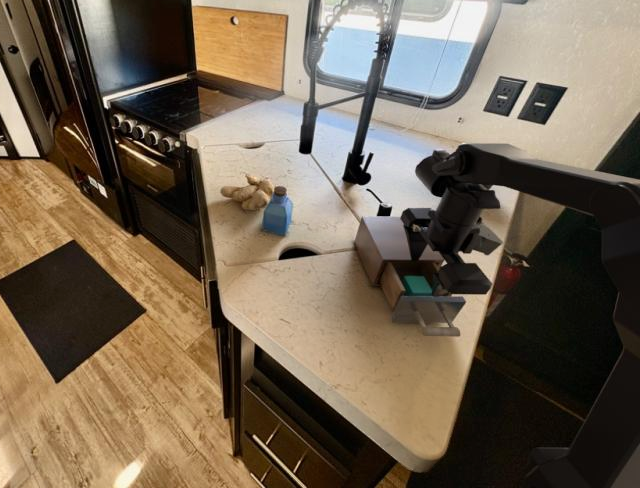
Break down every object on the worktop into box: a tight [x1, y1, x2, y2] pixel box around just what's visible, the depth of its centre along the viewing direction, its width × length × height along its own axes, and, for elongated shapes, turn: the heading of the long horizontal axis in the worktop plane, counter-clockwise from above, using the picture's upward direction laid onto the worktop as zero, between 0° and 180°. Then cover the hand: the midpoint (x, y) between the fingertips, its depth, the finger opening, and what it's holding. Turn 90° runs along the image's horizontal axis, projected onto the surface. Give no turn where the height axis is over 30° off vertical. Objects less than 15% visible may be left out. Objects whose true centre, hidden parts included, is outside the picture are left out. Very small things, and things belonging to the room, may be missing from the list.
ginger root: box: [219, 173, 277, 211], centre depth 91 cm, size 16×16×8 cm
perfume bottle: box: [262, 185, 294, 237], centre depth 81 cm, size 6×6×12 cm
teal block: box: [401, 276, 432, 296], centre depth 62 cm, size 4×4×4 cm
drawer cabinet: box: [353, 215, 445, 287], centre depth 71 cm, size 14×13×9 cm
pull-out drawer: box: [379, 262, 467, 338], centre depth 61 cm, size 17×11×7 cm, turn 0°
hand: (424, 277), depth 60 cm, fingers open, 8 cm apart
